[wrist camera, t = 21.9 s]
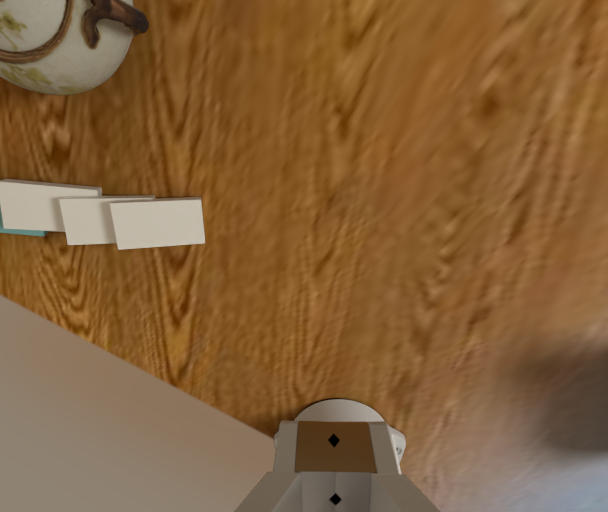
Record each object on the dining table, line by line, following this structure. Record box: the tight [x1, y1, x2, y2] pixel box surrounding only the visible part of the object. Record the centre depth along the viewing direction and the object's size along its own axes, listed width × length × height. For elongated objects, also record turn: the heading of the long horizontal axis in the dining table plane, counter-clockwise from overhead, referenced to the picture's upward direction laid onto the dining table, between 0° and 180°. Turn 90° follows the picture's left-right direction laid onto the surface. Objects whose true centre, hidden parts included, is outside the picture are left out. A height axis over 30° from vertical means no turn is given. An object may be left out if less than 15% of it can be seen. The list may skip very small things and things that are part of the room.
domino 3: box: [110, 197, 205, 250], centre depth 38 cm, size 5×2×9 cm
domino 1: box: [0, 179, 102, 232], centre depth 38 cm, size 5×2×9 cm
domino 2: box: [59, 195, 155, 245], centre depth 38 cm, size 5×2×9 cm
